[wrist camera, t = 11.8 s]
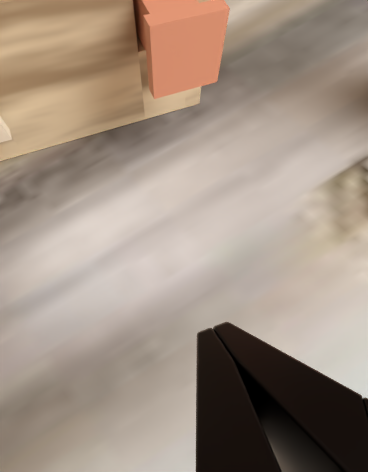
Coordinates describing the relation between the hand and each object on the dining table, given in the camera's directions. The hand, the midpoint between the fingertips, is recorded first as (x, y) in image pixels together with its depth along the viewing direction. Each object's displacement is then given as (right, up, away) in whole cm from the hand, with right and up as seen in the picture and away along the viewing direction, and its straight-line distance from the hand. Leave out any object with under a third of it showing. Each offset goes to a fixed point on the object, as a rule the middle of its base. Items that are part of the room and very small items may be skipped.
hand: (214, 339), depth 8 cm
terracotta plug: (-3, +18, +15) cm, 24 cm away
